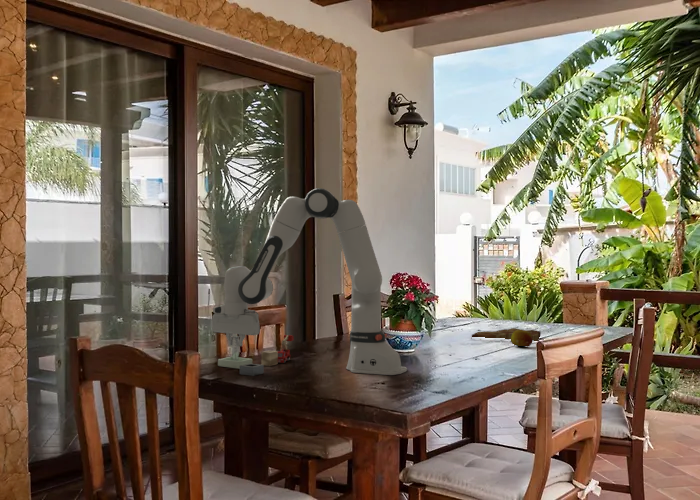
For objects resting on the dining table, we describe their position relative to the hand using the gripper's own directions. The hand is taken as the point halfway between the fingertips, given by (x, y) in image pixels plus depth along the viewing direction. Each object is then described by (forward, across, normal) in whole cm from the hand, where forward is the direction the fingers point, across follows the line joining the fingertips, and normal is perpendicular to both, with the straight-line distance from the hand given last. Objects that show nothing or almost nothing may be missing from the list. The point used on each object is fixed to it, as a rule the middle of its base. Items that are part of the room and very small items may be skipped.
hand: (235, 345), depth 264 cm
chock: (+8, -9, -9) cm, 15 cm away
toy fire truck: (+8, -9, -20) cm, 23 cm away
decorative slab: (+9, -66, -135) cm, 150 cm away
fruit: (+8, -80, -109) cm, 135 cm away
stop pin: (+6, 0, 0) cm, 6 cm away
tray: (+8, 0, 0) cm, 8 cm away
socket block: (+8, -15, +10) cm, 19 cm away
